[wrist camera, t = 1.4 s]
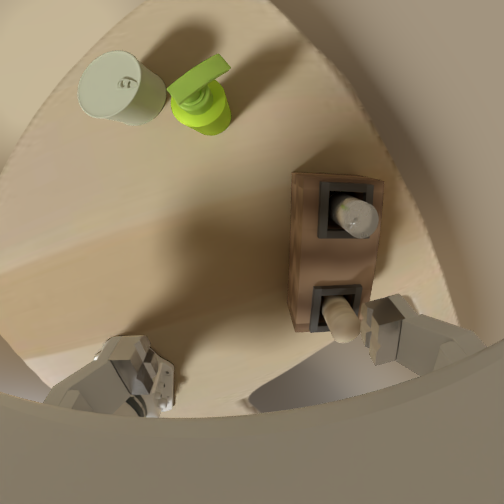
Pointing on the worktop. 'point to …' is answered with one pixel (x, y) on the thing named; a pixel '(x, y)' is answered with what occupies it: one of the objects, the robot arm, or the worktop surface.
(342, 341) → the maple peg
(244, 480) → the robot arm
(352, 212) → the steel peg
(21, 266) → the worktop surface
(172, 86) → the soap dispenser
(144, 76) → the can
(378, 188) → the walnut block
